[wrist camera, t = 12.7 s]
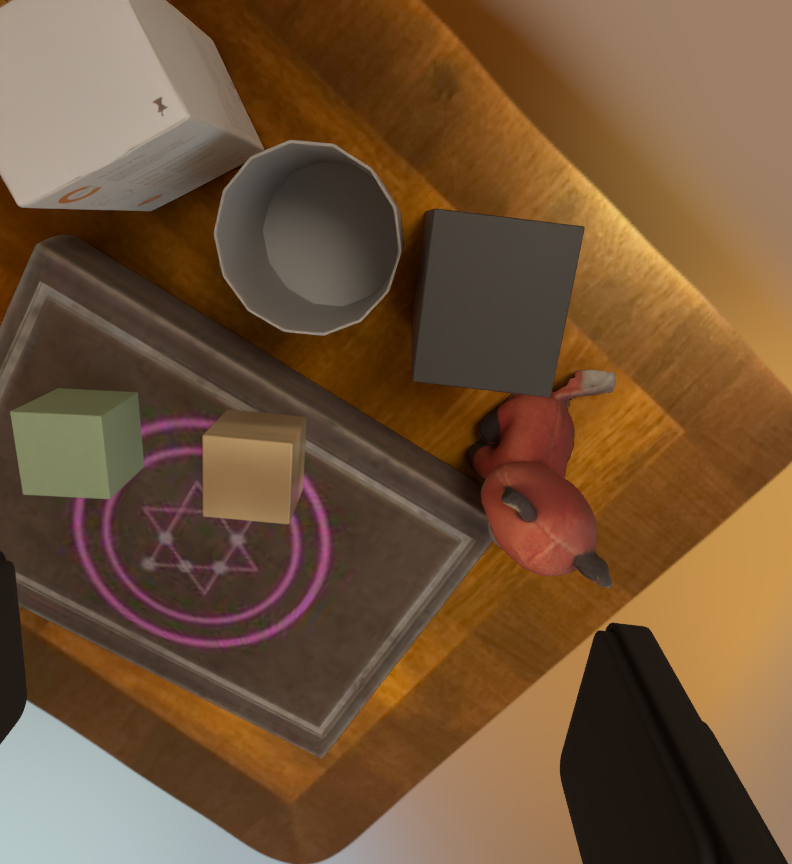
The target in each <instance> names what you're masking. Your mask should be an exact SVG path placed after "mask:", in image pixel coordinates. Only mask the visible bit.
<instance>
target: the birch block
mask: <svg viewBox="0 0 792 864" xmlns="http://www.w3.org/2000/svg"><path fill="white" fill-rule="evenodd" d="M306 421H307V418H306V417H302V416H292V415H281V414H271V413H260V412H250V411H239V410H229V409H228V410H226V411H225V412H224V413H223V414H222V416H221V417H220V418H219V419H218V420H217V421H216V422H215V423H214V424H213V425H212V426H211V427H210V428H209V429H208V430H207V431H206V432H205V433H204V434H203V436H202V444H203V516H204V517H215V518H226V519H236V520H247V521H258V522H268V523H279V524H289V523H290V521H291V518H292V516H293V513H294V511H295V508H296V506H297V503H298V500H299V498H300V495H301V493H302V490H303V480H304V461H305V441H306Z"/></svg>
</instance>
